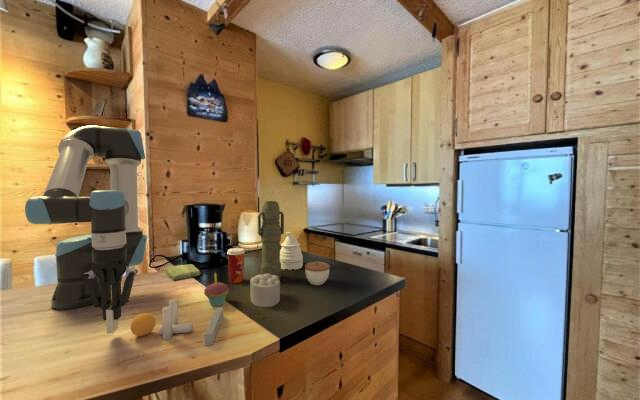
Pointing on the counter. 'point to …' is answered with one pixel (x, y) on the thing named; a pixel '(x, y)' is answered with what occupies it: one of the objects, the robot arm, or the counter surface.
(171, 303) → the pin
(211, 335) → the white long bar
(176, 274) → the washcloth
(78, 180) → the robot arm
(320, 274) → the lidded jar
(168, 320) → the pin
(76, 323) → the counter surface
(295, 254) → the honey pot
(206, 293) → the cupcake
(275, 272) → the thermos
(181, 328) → the front pin
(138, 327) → the ball
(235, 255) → the paper cup
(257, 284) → the lumpy-topped squat cylinder
